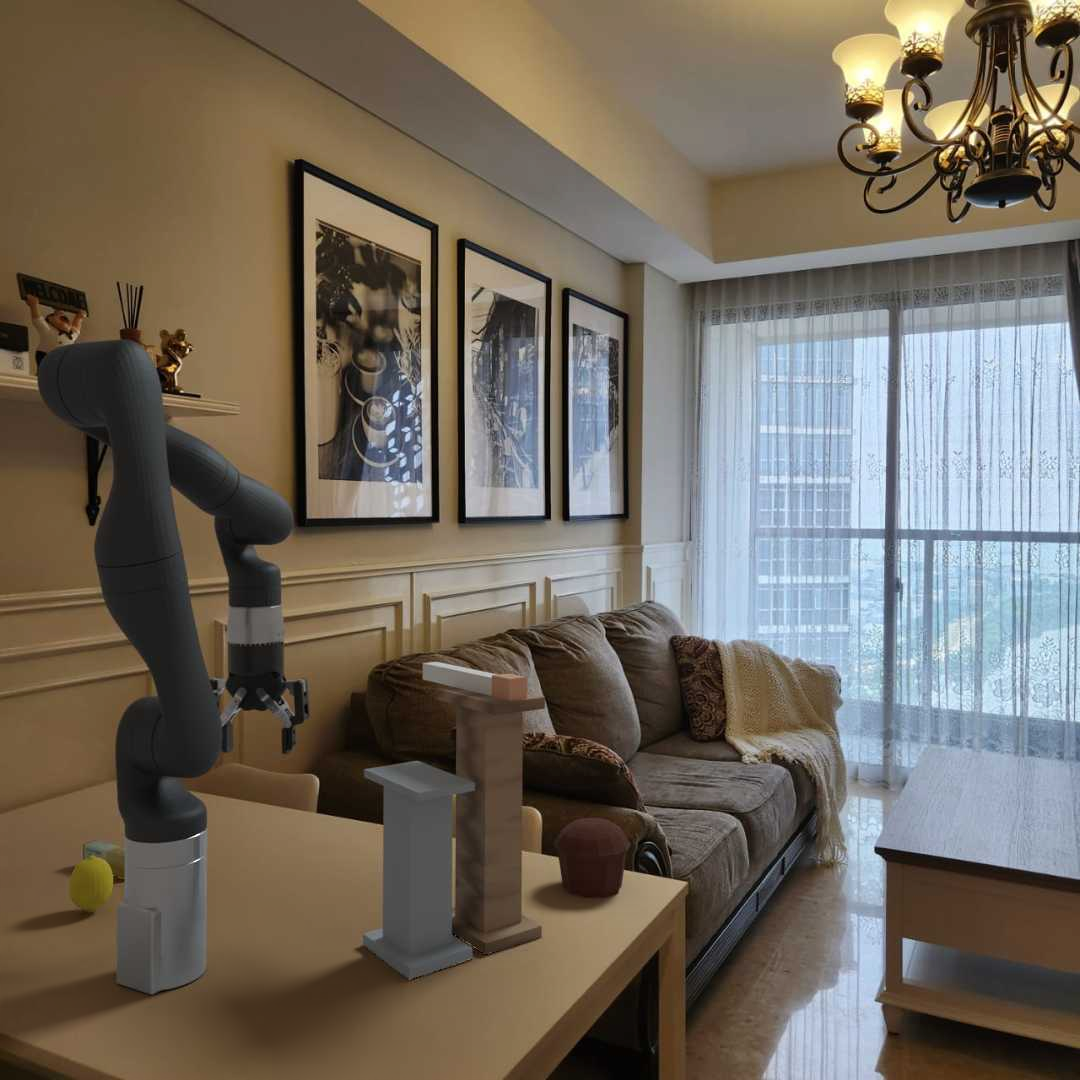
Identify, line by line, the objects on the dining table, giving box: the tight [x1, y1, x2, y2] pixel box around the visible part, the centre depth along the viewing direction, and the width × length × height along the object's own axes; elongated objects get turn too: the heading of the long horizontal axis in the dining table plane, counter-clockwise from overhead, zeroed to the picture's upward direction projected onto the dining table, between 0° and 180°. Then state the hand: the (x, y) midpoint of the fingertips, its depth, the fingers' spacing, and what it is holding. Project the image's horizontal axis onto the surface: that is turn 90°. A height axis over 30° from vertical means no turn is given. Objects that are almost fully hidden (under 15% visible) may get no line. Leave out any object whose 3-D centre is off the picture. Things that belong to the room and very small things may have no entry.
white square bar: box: [422, 661, 528, 701], centre depth 128 cm, size 22×3×3 cm, turn 38°
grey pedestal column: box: [362, 760, 475, 980], centre depth 118 cm, size 14×9×22 cm, turn 38°
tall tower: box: [436, 686, 546, 955], centre depth 125 cm, size 14×9×32 cm, turn 38°
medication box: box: [82, 839, 125, 879], centre depth 146 cm, size 12×3×4 cm, turn 60°
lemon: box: [68, 855, 114, 914], centre depth 130 cm, size 6×6×8 cm
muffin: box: [553, 817, 632, 899], centre depth 141 cm, size 12×11×10 cm
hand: (257, 752), depth 130 cm, fingers open, 8 cm apart
